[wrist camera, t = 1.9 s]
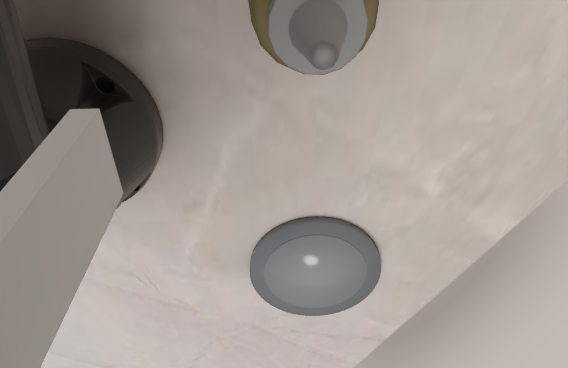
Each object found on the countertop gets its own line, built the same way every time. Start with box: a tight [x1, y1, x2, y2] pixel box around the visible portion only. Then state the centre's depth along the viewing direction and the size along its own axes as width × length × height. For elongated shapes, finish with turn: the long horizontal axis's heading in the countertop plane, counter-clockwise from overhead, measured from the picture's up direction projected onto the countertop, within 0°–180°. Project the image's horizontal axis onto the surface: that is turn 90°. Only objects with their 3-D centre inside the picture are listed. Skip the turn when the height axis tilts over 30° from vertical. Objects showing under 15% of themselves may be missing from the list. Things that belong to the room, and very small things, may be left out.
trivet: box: [250, 217, 381, 316], centre depth 50 cm, size 14×14×1 cm
